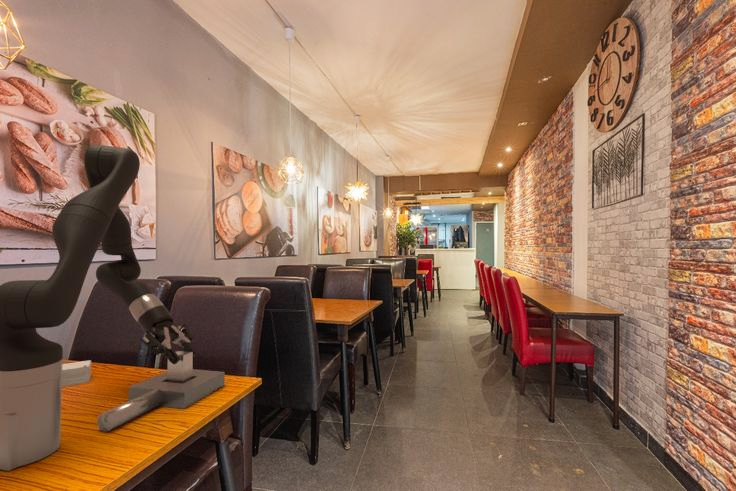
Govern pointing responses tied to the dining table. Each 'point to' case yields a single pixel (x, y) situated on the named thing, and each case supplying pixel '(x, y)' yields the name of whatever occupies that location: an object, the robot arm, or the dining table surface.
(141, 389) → the grey handled frame
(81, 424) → the dining table surface
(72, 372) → the small box
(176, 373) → the upright grey pillar
